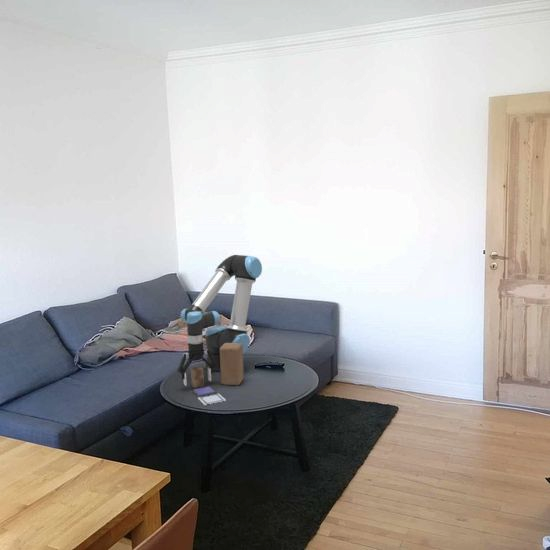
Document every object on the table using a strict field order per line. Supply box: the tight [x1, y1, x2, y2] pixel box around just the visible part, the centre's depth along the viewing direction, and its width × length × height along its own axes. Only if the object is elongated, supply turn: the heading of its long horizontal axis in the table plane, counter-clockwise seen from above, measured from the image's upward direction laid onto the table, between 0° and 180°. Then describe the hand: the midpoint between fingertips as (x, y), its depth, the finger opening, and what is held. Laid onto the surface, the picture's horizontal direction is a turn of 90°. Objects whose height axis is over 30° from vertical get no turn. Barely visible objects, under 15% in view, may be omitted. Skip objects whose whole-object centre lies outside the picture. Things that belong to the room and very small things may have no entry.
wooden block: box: [220, 343, 245, 386], centre depth 300 cm, size 10×10×20 cm
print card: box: [197, 393, 227, 406], centre depth 279 cm, size 11×10×1 cm
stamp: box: [190, 365, 205, 390], centre depth 296 cm, size 5×5×10 cm
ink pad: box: [192, 386, 217, 398], centre depth 288 cm, size 9×9×1 cm
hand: (197, 382), depth 296 cm, fingers open, 12 cm apart
